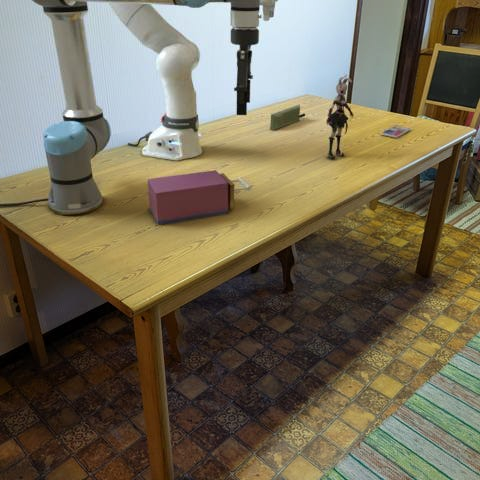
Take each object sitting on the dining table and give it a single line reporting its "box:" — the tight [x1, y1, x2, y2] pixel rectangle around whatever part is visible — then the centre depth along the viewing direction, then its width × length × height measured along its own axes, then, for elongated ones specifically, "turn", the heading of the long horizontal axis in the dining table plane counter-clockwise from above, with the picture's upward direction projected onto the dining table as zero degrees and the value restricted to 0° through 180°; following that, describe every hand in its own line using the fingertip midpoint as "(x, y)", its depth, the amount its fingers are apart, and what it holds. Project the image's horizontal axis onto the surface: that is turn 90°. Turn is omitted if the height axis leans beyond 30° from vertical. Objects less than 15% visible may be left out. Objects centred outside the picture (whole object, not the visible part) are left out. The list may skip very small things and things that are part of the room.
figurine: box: [325, 74, 354, 160], centre depth 182 cm, size 15×6×30 cm, turn 132°
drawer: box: [219, 172, 252, 209], centre depth 147 cm, size 25×9×7 cm, turn 111°
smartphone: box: [380, 124, 411, 139], centre depth 215 cm, size 7×1×15 cm
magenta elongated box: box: [146, 169, 229, 225], centre depth 145 cm, size 21×10×10 cm, turn 111°
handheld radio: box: [269, 104, 306, 131], centre depth 223 cm, size 7×3×25 cm
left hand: (243, 108), depth 144 cm, fingers open, 13 cm apart
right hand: (268, 19), depth 163 cm, fingers open, 8 cm apart
